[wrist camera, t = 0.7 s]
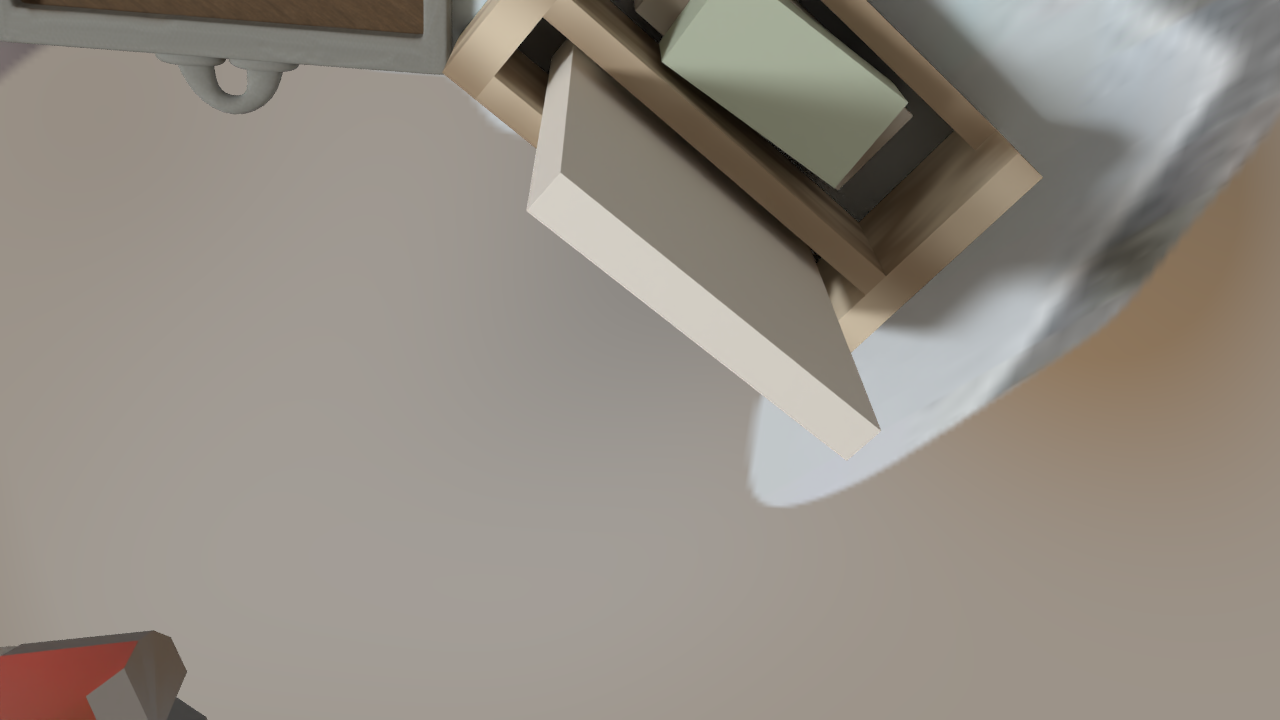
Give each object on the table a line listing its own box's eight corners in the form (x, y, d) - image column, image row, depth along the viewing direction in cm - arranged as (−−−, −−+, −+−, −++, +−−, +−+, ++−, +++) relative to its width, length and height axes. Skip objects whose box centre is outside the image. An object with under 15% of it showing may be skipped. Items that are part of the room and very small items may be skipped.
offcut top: (726, -49, 45) (733, -35, 42) (891, 81, 48) (908, 102, 45) (658, 42, 47) (661, 61, 44) (822, 163, 49) (834, 188, 47)
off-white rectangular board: (575, 28, 49) (560, 172, 33) (800, 224, 54) (880, 431, 38) (551, 56, 49) (526, 210, 34) (777, 248, 54) (846, 460, 39)
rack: (654, -211, 44) (660, -202, 39) (998, 131, 52) (1043, 177, 46) (459, 35, 49) (442, 72, 44) (801, 318, 56) (821, 379, 51)
